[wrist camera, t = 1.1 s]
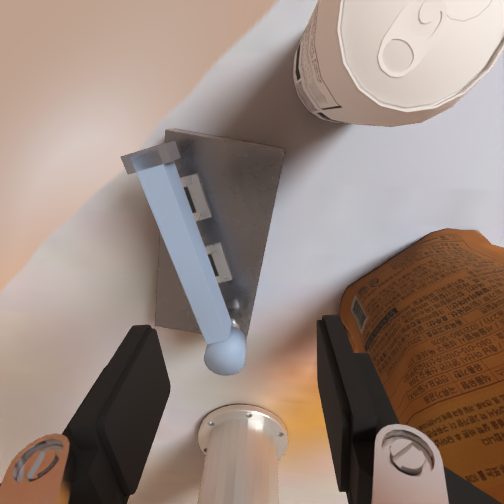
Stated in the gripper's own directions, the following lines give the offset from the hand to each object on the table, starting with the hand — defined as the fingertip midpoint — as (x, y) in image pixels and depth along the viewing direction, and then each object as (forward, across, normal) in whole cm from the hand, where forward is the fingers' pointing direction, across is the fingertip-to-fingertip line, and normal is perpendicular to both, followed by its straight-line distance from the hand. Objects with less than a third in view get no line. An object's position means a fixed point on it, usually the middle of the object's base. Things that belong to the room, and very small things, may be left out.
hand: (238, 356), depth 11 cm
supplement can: (+22, -8, -11) cm, 26 cm away
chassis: (+22, +4, +4) cm, 22 cm away
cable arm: (+15, +5, +3) cm, 16 cm away
